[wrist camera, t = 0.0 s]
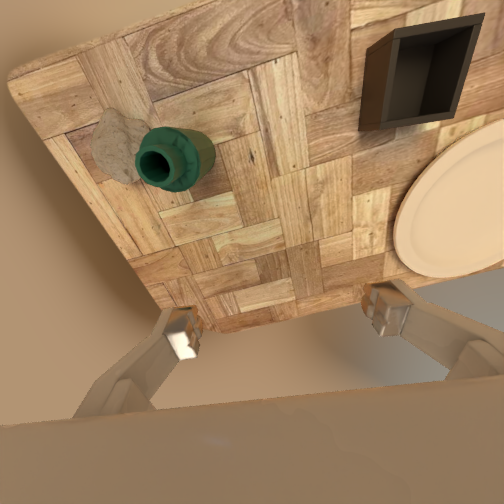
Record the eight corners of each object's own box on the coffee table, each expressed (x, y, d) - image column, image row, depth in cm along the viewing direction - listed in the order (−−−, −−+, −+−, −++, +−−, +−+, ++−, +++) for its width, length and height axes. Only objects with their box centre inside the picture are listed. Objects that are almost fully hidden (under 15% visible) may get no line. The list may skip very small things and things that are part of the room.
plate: (492, 73, 27) (512, 67, 25) (599, 166, 33) (622, 167, 31) (357, 243, 39) (363, 249, 37) (454, 287, 46) (463, 294, 44)
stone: (134, 94, 25) (154, 179, 28) (151, 110, 30) (167, 181, 32) (56, 104, 25) (84, 188, 28) (85, 118, 30) (106, 188, 32)
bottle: (170, 134, 29) (102, 131, 15) (210, 127, 29) (178, 118, 15) (182, 176, 32) (135, 207, 18) (219, 171, 32) (199, 197, 18)
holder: (366, 48, 25) (394, 28, 21) (440, 35, 25) (486, 11, 20) (357, 131, 30) (379, 130, 25) (420, 121, 29) (454, 118, 25)
